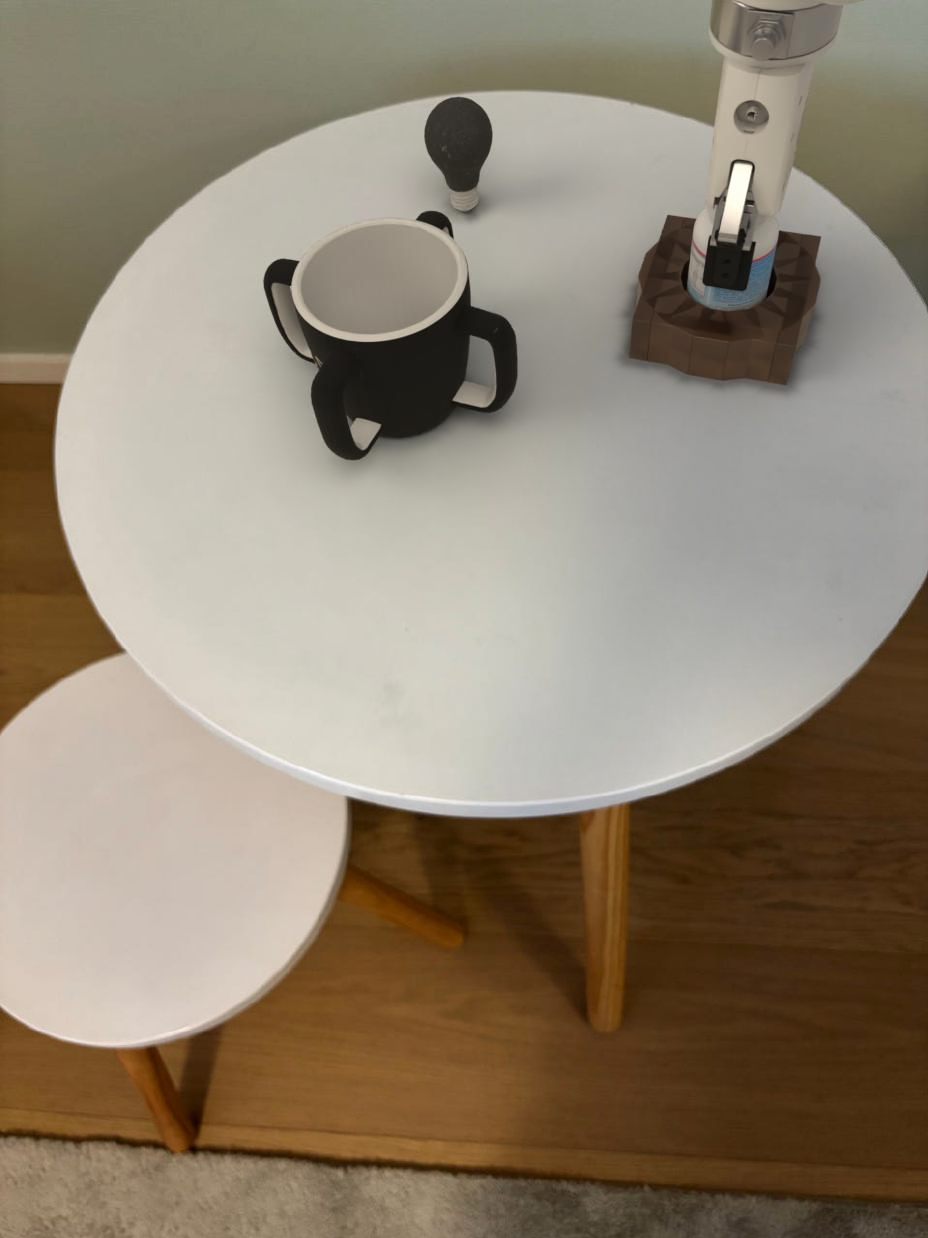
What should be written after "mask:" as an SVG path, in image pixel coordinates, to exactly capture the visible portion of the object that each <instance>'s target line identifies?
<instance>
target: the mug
mask: <svg viewBox="0 0 928 1238" xmlns="http://www.w3.org/2000/svg"><path fill="white" fill-rule="evenodd" d="M262 282H263V290H264V293H265V294H264V295H265V298H266V301H267V303H268V307H269V310H270V313H271V315H272V317H273V321H274V324H275V326H276V328H277V330H278V333H279V334H280V336H281V337H282V339H283V340H284V342H285V344H286V345H287V347H288V348H290V350H291V351H292V352H293V353H294V354H295V355H296V356H297V357H299V358H301V359H302V360H304V361H305V362H309V363H312V364H314V365H316V367H317V369H318V371H317V373H316V374H315V376H314V378H313V379H312V383H311V386H310V387H311V388H310V389H311V390H310V398H311V399H310V400H311V402H310V403H311V405H312V409H313V412H314V416H315V419H316V423H317V426H318V428H319V431H320V434H321V437H322V439H323V442H324V443H325V445H326V447H327V449H329V450H330V451H331V452H332V453H333V454H334V455H336V456H337V457H339V458H341V459H343V460H346V461H359V460H362V459H363V458H365V457H366V456H367V455H368V454H369V453H370V452H371V450H372V448H373V447H374V446H375V444H376V442H377V441H378V439H379V437H383V438H391V439H392V438H393V439H401V438H402V439H403V438H410V437H415V436H417V435H421V434H424V433H426V432H428V431H431V430H432V429H434V428H435V427H438V425H440V424H442V423H443V422H444V421H445V420H446V419H448V418H449V416H450V415H451V413H452V412H453V411H454V410H455V408H456V407H457V408H461V409H465V410H469V411H473V412H478V413H483V414H491V413H495V412H497V411H499V410H501V409H503V408H504V406H505V405H506V404H507V403H508V402H509V400H510V399H511V397H512V396H513V394H514V392H515V389H516V386H517V382H518V375H519V374H518V372H519V368H518V365H519V363H518V359H519V357H518V343H517V336H516V333H515V330H514V328H513V326H512V324H511V322H510V321H509V320H508V319H507V318H506V317H504V316H503V315H501V314H499V313H495V312H492V311H488V310H486V309H483V308H480V307H476V306H473V305H472V292H471V281H470V273H469V264H468V260H467V257H466V255H465V253H464V251H463V249H462V247H461V246H460V244H458V242H457V241H456V240H455V237H454V230H453V225H452V223H451V221H450V219H449V217H448V216H447V215H446V214H445V213H443V212H440V211H438V210H425V211H422V212H421V213H420V214H419V215H418V216H417V217H416V218H415V219H412V218H405V217H378V218H370V219H365V220H362V221H357V222H354V223H350V224H348V225H345V226H343V227H340V228H338V229H335V230H334V231H332V232H331V233H328V234H327V235H325V236H323V237H322V238H321V239H319V240H318V241H316V243H315V244H313V245H312V246H310V248H309V249H308V250H307V251H306V252H305V254H304V255H303V256H302V257H301V258H300V260H296V259H290V258H283V257H282V258H278V259H276V260H274V261H273V262H270V264H269V265H268V267H267V268H266V269H265V272H264V275H263V280H262ZM471 337H475V338H479V339H481V340H484V341H486V342H488V344H489V345H490V348H491V353H492V360H493V361H492V362H493V369H494V386H489V385H483V384H479V383H475V382H471V381H467V380H466V375H467V371H468V370H467V369H468V363H469V355H470V343H471ZM348 418H349V419H350V421H351V422H352V424H351V425H350V424H349V419H348Z"/></svg>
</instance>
